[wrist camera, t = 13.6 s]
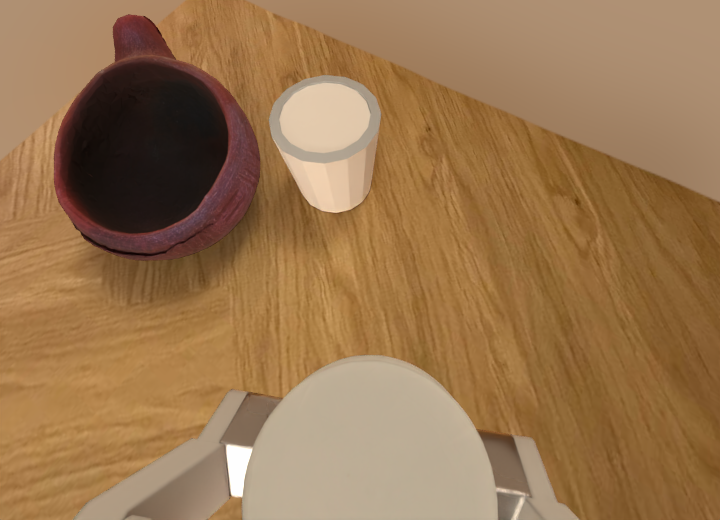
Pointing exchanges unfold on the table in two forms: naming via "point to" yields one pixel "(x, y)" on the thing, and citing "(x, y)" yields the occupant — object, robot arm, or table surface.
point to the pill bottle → (369, 450)
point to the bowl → (154, 153)
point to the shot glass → (328, 139)
